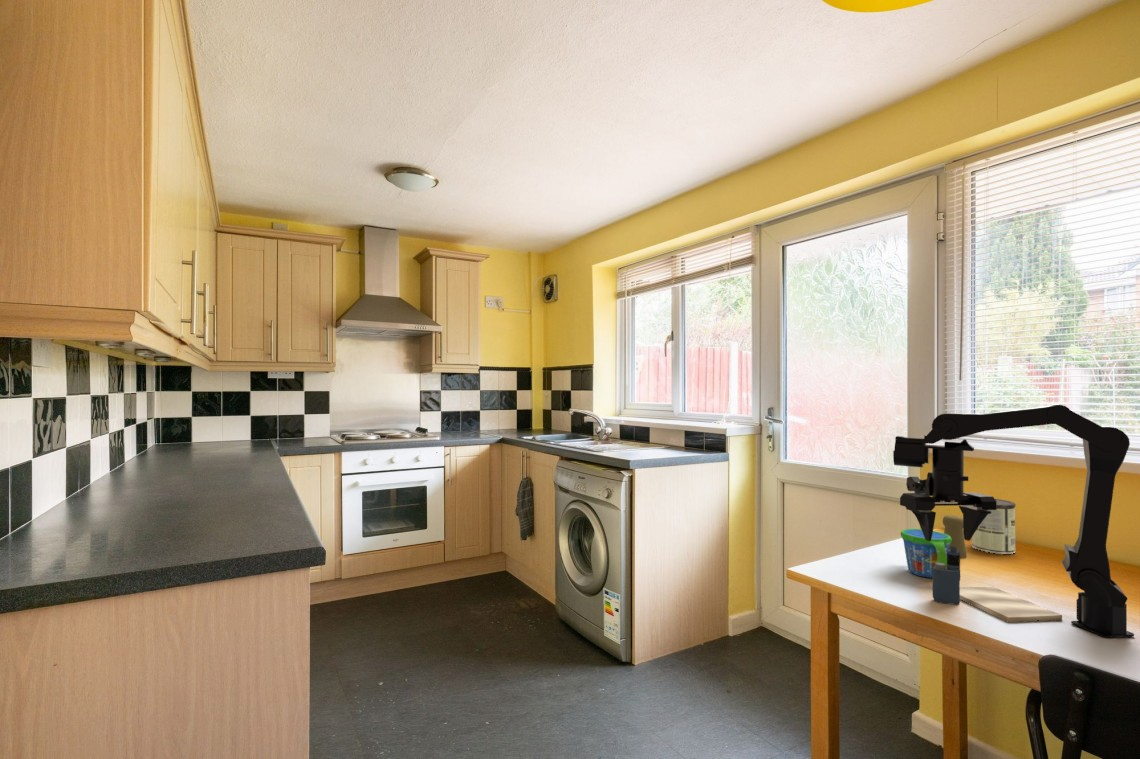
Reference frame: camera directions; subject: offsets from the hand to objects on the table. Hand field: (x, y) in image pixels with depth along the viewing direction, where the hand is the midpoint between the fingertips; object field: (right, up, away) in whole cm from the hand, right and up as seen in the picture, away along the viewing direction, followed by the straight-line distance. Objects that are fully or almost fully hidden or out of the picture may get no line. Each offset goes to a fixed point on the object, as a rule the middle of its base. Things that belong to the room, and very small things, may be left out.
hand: (947, 540), depth 121 cm
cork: (+25, -14, +33) cm, 43 cm away
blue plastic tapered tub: (+6, -14, +17) cm, 23 cm away
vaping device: (-1, -13, -1) cm, 13 cm away
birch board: (+9, -13, -3) cm, 16 cm away
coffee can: (+40, -14, +39) cm, 57 cm away
